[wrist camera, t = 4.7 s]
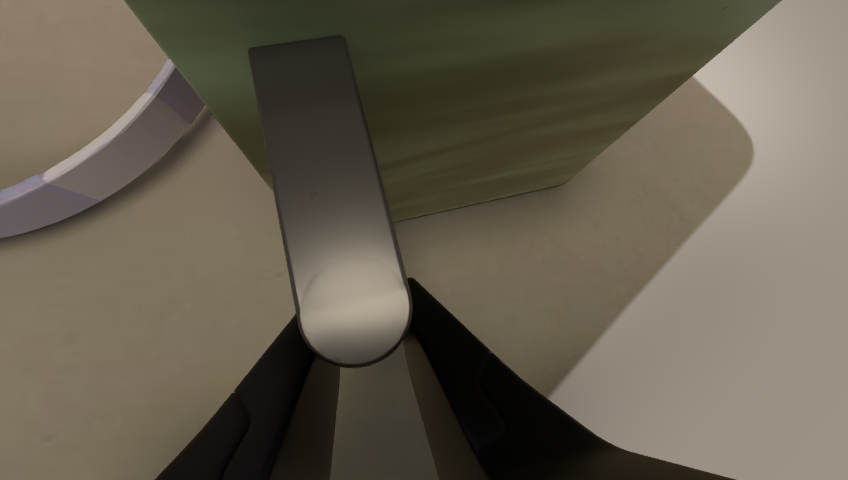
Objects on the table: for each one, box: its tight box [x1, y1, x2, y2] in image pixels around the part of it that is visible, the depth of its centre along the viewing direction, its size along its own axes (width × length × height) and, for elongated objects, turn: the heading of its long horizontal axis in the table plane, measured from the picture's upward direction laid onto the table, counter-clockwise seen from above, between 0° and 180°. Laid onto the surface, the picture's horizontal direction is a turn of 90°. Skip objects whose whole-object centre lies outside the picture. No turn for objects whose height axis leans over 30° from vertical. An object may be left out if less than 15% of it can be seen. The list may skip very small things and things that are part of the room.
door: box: [124, 0, 781, 368], centre depth 11 cm, size 6×13×14 cm, turn 105°
